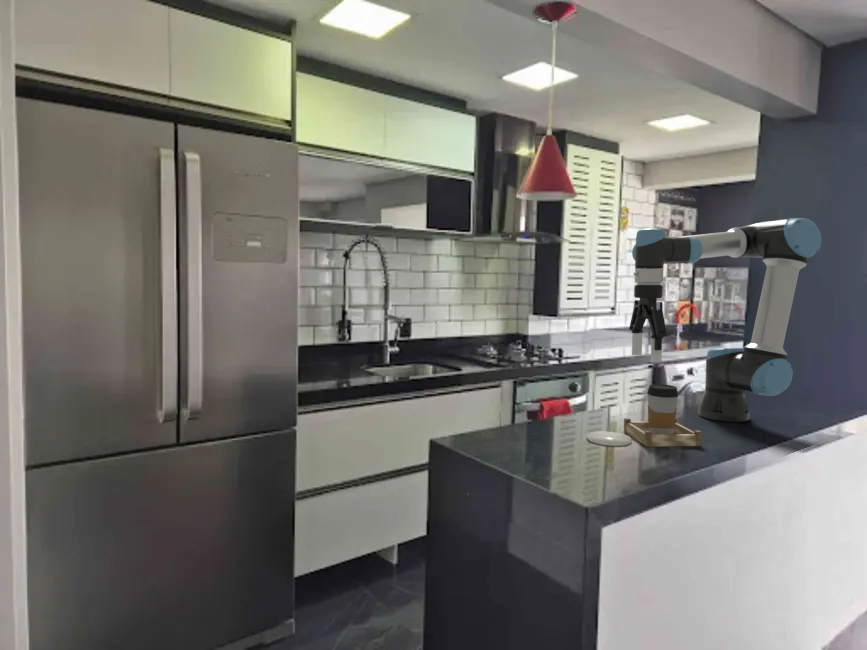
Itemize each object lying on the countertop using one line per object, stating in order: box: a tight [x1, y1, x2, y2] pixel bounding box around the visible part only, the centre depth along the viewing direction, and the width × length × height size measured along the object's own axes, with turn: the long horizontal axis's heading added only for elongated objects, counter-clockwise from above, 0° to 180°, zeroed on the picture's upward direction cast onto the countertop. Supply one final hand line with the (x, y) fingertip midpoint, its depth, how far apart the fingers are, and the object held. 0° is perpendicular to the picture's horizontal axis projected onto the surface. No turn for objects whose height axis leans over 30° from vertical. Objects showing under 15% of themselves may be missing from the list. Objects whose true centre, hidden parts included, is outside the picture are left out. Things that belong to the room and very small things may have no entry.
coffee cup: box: [646, 383, 680, 435], centre depth 162 cm, size 8×8×15 cm
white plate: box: [586, 430, 633, 447], centre depth 160 cm, size 12×12×1 cm
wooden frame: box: [623, 417, 703, 448], centre depth 162 cm, size 15×15×4 cm
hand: (645, 358), depth 163 cm, fingers open, 13 cm apart
